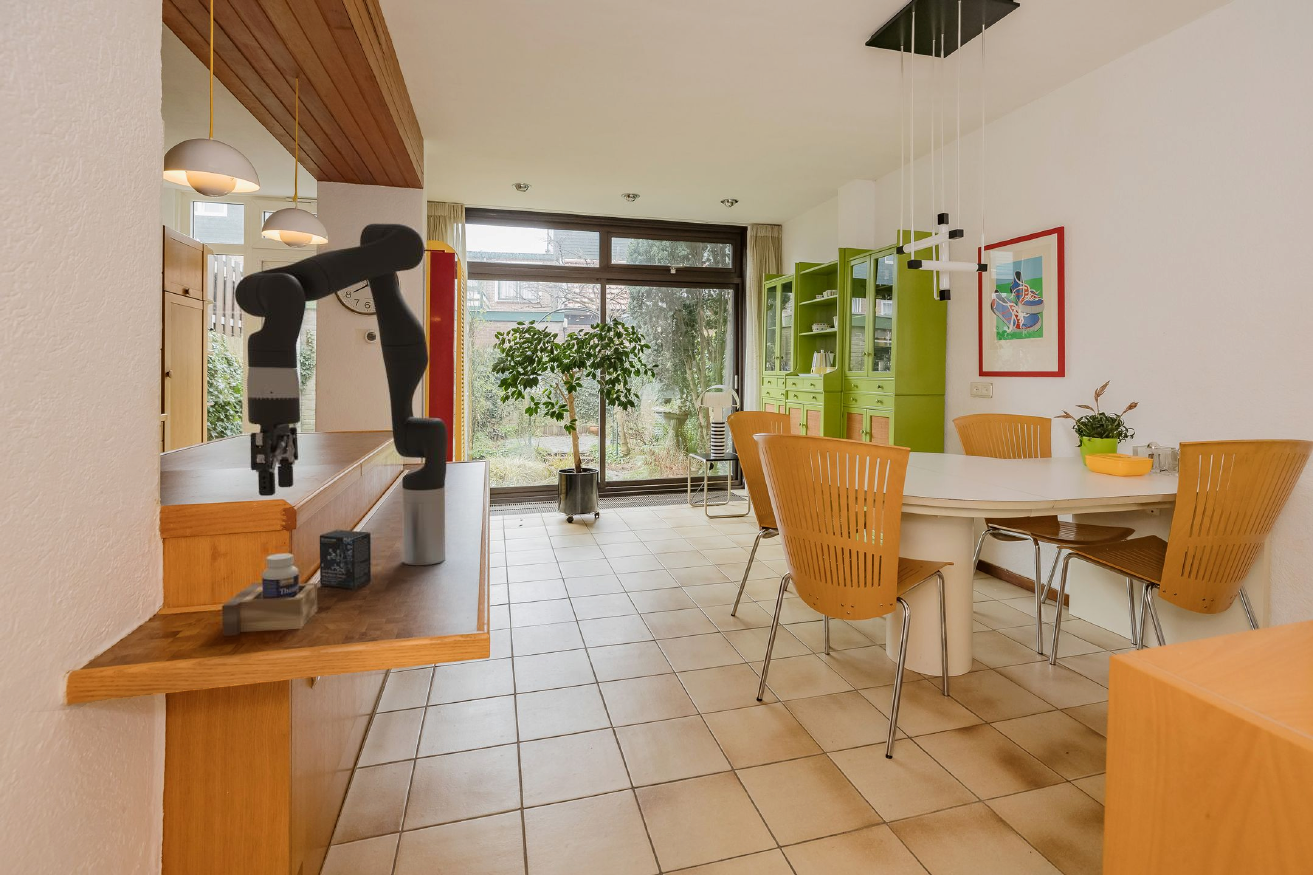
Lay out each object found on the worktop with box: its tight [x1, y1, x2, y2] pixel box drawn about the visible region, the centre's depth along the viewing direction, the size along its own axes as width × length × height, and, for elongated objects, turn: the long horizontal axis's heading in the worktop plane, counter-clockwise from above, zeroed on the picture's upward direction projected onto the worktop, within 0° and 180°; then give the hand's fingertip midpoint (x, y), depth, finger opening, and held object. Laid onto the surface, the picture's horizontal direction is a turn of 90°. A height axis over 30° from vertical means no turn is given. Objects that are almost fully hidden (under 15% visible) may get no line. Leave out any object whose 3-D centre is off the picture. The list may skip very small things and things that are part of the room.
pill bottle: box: [261, 553, 300, 599], centre depth 111 cm, size 5×5×10 cm
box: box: [319, 529, 372, 590], centre depth 131 cm, size 8×6×11 cm
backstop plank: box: [221, 582, 262, 637], centre depth 110 cm, size 12×2×5 cm, turn 12°
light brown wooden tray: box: [240, 582, 318, 633], centre depth 111 cm, size 9×9×5 cm
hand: (277, 490), depth 109 cm, fingers open, 8 cm apart
